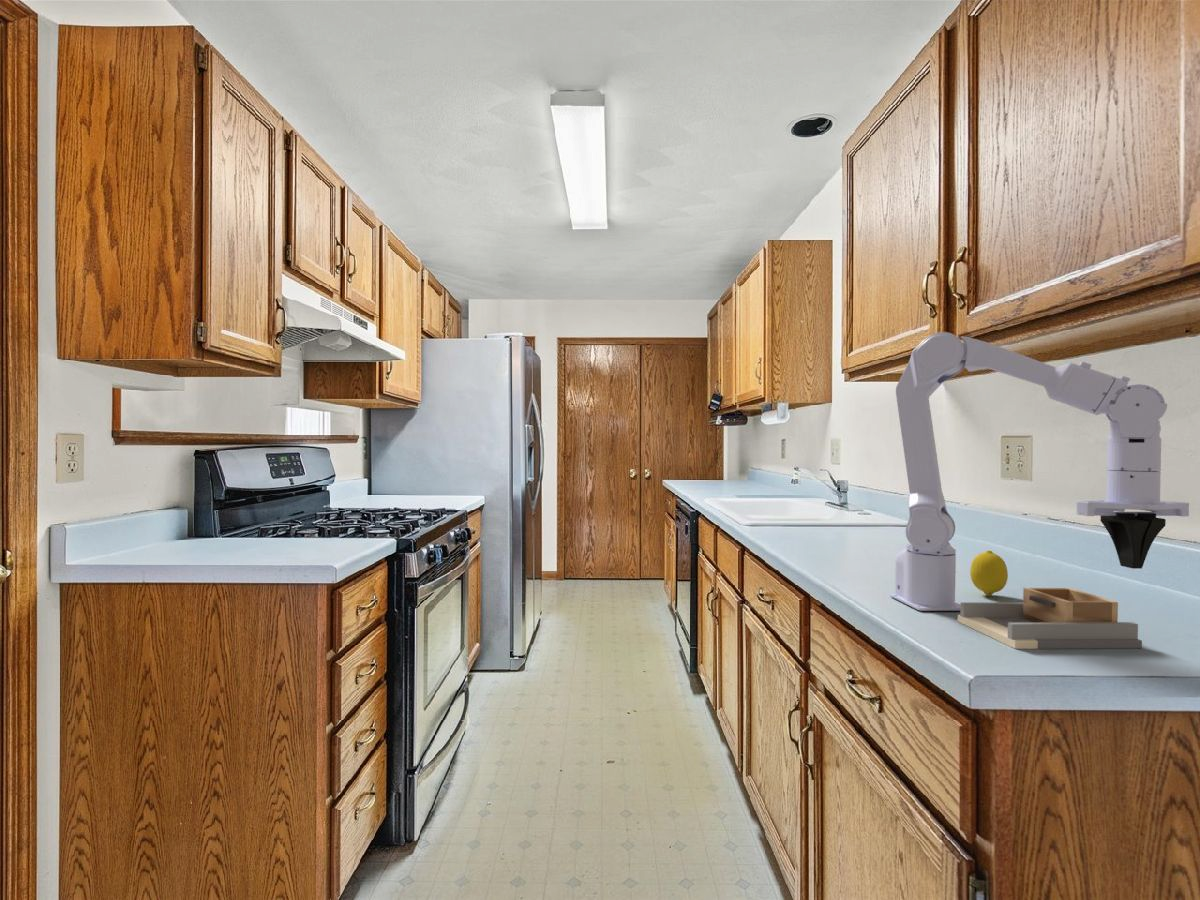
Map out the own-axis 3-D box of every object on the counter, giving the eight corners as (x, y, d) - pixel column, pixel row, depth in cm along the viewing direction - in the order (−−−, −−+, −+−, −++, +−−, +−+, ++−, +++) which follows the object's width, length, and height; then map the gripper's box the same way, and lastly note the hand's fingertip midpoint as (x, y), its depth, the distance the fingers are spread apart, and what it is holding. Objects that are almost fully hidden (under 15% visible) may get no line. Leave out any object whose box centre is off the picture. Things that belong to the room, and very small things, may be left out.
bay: (957, 621, 91) (958, 601, 91) (1068, 621, 91) (1068, 601, 91) (1015, 648, 79) (1015, 625, 79) (1141, 648, 79) (1142, 625, 79)
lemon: (992, 591, 109) (993, 547, 109) (1015, 600, 104) (1015, 553, 104) (962, 592, 109) (963, 547, 109) (983, 600, 103) (984, 553, 103)
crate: (1018, 617, 89) (1019, 588, 89) (1069, 617, 89) (1069, 587, 89) (1062, 635, 81) (1062, 602, 81) (1117, 634, 81) (1117, 602, 81)
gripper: (1107, 471, 81) (1105, 573, 81) (1212, 472, 81) (1210, 573, 82) (1065, 469, 88) (1063, 562, 88) (1162, 470, 88) (1160, 562, 89)
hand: (1131, 567), depth 85 cm, fingers closed
